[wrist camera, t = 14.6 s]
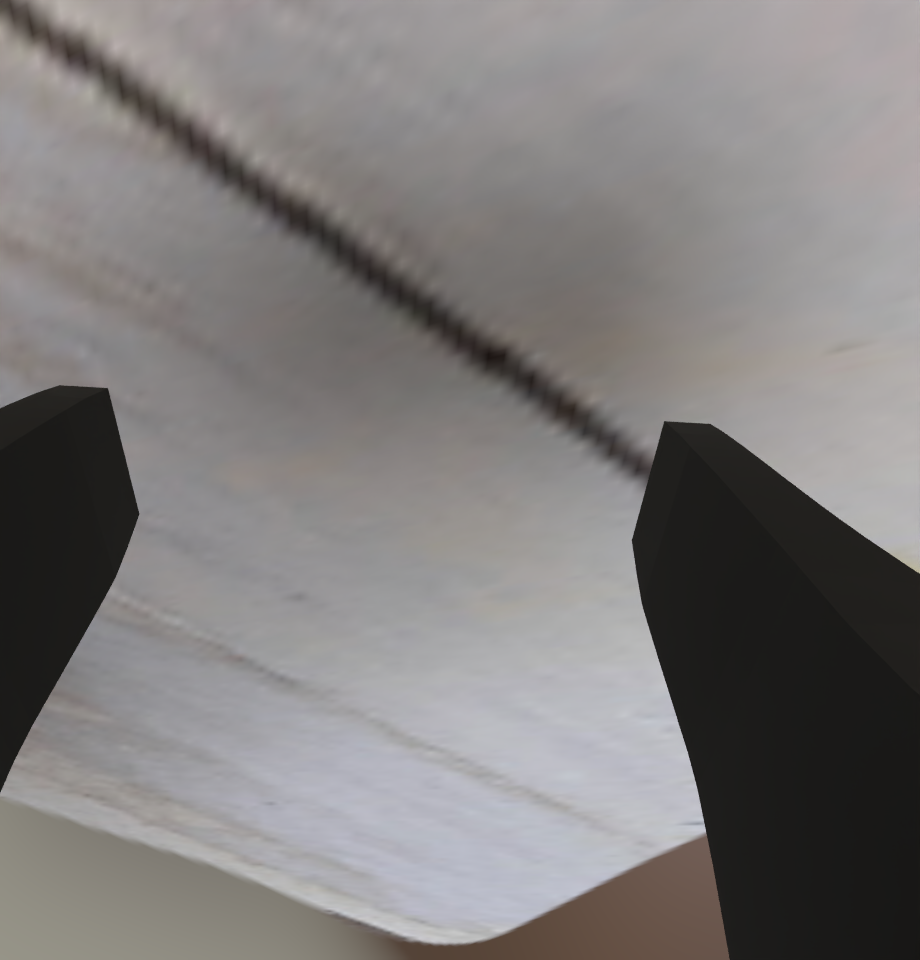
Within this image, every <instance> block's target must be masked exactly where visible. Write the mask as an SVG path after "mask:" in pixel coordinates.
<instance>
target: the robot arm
mask: <svg viewBox="0 0 920 960" xmlns="http://www.w3.org/2000/svg"><path fill="white" fill-rule="evenodd" d="M138 516H139V511H138V507H137V503H136V499H135V495H134V491H133V487H132V483H131V479H130V475H129V471H128V467H127V463H126V459H125V455H124V451H123V447H122V443H121V439H120V435H119V431H118V427H117V423H116V419H115V415H114V411H113V407H112V403H111V399H110V395H109V391H108V388H95V387H78V386H61V385H59V386H56V387H53V388H50V389H47V390H44V391H41V392H38V393H36V394H33V395H31V396H28V397H26V398H23V399H21V400H18V401H16V402H14V403H11V404H9V405H7V406H5V407H2V408H0V792H1V790H2V787H3V785H4V783H5V781H6V778H7V776H8V774H9V771H10V769H11V767H12V765H13V762H14V760H15V758H16V756H17V754H18V752H19V750H20V748H21V746H22V745H23V743H24V741H25V739H26V737H27V735H28V733H29V731H30V729H31V727H32V725H33V723H34V722H35V720H36V718H37V716H38V715H39V713H40V711H41V709H42V707H43V706H44V704H45V702H46V700H47V699H48V697H49V695H50V693H51V692H52V690H53V688H54V686H55V685H56V683H57V681H58V679H59V678H60V676H61V674H62V672H63V671H64V669H65V667H66V665H67V664H68V662H69V660H70V658H71V657H72V655H73V653H74V651H75V650H76V648H77V646H78V644H79V643H80V641H81V639H82V637H83V636H84V634H85V632H86V630H87V629H88V627H89V625H90V623H91V621H92V620H93V618H94V616H95V614H96V612H97V611H98V609H99V607H100V605H101V603H102V602H103V600H104V598H105V596H106V594H107V592H108V591H109V589H110V587H111V585H112V583H113V581H114V579H115V577H116V575H117V572H118V570H119V567H120V565H121V562H122V560H123V557H124V555H125V552H126V550H127V547H128V544H129V542H130V539H131V536H132V533H133V530H134V528H135V525H136V522H137V519H138ZM632 544H633V551H634V558H635V565H636V572H637V578H638V584H639V589H640V595H641V601H642V606H643V609H644V612H645V616H646V619H647V623H648V626H649V629H650V633H651V636H652V639H653V642H654V646H655V649H656V652H657V655H658V659H659V662H660V665H661V668H662V671H663V675H664V678H665V681H666V684H667V687H668V691H669V694H670V697H671V700H672V703H673V706H674V710H675V713H676V716H677V719H678V722H679V726H680V729H681V732H682V735H683V738H684V742H685V745H686V748H687V751H688V755H689V758H690V762H691V766H692V770H693V773H694V777H695V781H696V785H697V789H698V793H699V798H700V803H701V808H702V813H703V818H704V823H705V828H706V833H707V838H708V842H709V847H710V853H711V858H712V862H713V867H714V873H715V879H716V885H717V890H718V896H719V901H720V907H721V912H722V918H723V923H724V929H725V935H726V941H727V946H728V952H729V958H730V960H920V574H919V573H918V572H916V571H915V570H913V569H911V568H910V567H908V566H907V565H905V564H904V563H903V562H901V561H900V560H898V559H897V558H895V557H894V556H892V555H891V554H889V553H888V552H886V551H885V550H883V549H882V548H880V547H879V546H877V545H876V544H874V543H873V542H871V541H870V540H868V539H867V538H865V537H864V536H863V535H861V534H860V533H858V532H857V531H856V530H854V529H853V528H851V527H850V526H848V525H847V524H846V523H844V522H843V521H841V520H840V519H839V518H837V517H836V516H835V515H833V514H832V513H830V512H829V511H828V510H826V509H825V508H824V507H822V506H821V505H820V504H818V503H817V502H816V501H814V500H813V499H812V498H810V497H809V496H808V495H806V494H805V493H804V492H802V491H801V490H800V489H798V488H797V487H796V486H794V485H793V484H792V483H791V482H789V481H788V480H787V479H785V478H784V477H783V476H781V475H780V474H779V473H777V472H776V471H775V470H774V469H772V468H771V467H770V466H768V465H767V464H766V463H764V462H763V461H762V460H761V459H759V458H758V457H757V456H755V455H754V454H753V453H751V452H750V451H749V450H747V449H746V448H745V447H743V446H742V445H741V444H739V443H738V442H737V441H735V440H734V439H732V438H731V437H730V436H728V435H727V434H725V433H724V432H722V431H721V430H719V429H718V428H716V427H714V426H713V425H711V424H700V423H684V422H667V421H664V424H663V428H662V432H661V435H660V439H659V443H658V447H657V450H656V454H655V458H654V461H653V465H652V469H651V472H650V476H649V480H648V483H647V487H646V491H645V494H644V498H643V502H642V505H641V509H640V513H639V516H638V520H637V524H636V527H635V531H634V535H633V538H632Z"/></svg>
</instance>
